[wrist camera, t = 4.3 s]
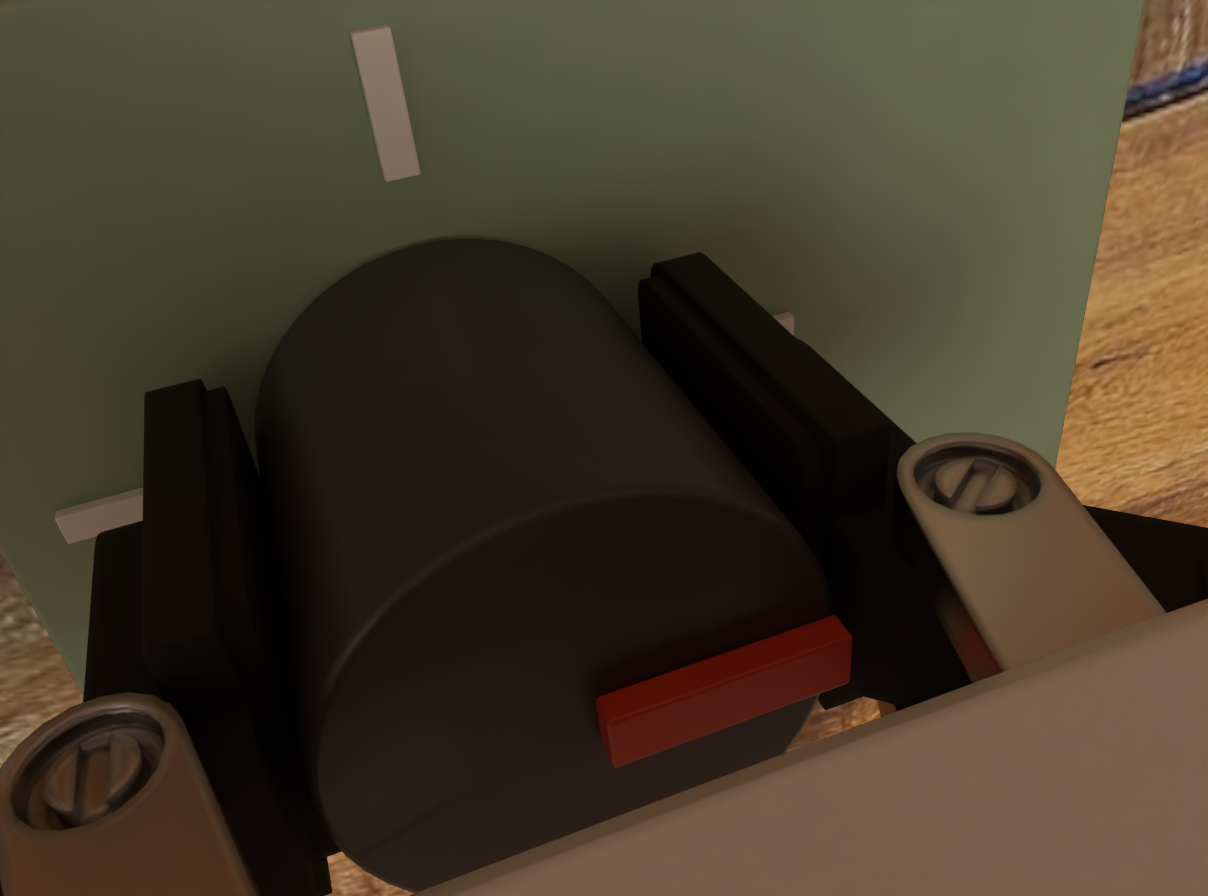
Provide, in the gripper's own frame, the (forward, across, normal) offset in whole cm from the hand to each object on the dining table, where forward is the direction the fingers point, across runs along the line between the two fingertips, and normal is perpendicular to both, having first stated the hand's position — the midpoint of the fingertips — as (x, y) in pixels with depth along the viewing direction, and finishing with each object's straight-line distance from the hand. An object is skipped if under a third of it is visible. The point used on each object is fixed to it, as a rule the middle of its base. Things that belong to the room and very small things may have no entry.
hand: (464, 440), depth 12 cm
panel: (+4, -2, 0) cm, 4 cm away
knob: (0, 0, 0) cm, 0 cm away
